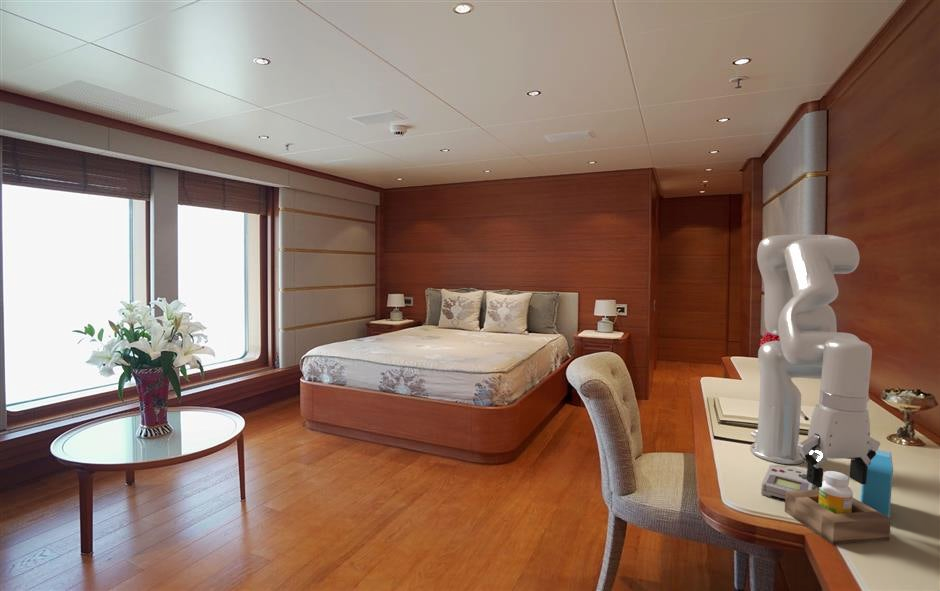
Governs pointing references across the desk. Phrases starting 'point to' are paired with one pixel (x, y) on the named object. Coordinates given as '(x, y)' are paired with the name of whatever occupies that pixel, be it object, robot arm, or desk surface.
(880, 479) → the data package
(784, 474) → the handheld gaming console
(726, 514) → the desk surface
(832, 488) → the supplement bottle
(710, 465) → the desk surface
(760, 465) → the desk surface
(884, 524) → the walnut pocket block
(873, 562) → the desk surface
